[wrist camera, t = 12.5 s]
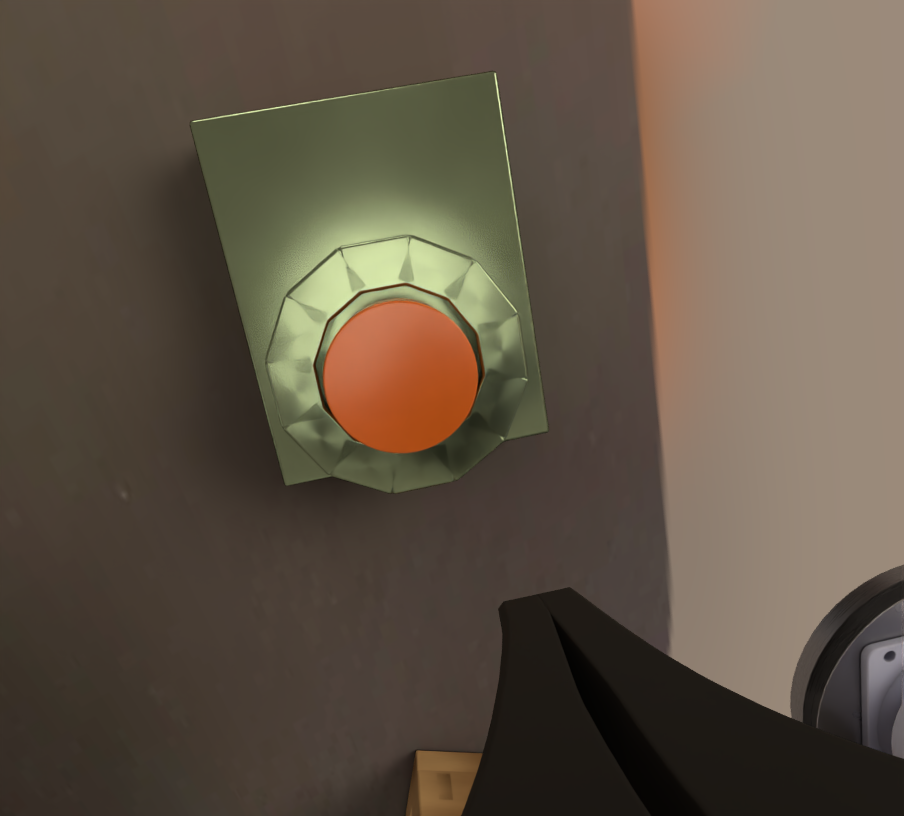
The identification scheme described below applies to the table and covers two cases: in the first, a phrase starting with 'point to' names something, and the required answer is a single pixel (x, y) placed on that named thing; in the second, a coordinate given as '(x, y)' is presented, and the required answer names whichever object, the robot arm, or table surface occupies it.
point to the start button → (400, 376)
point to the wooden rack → (441, 782)
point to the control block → (375, 260)
